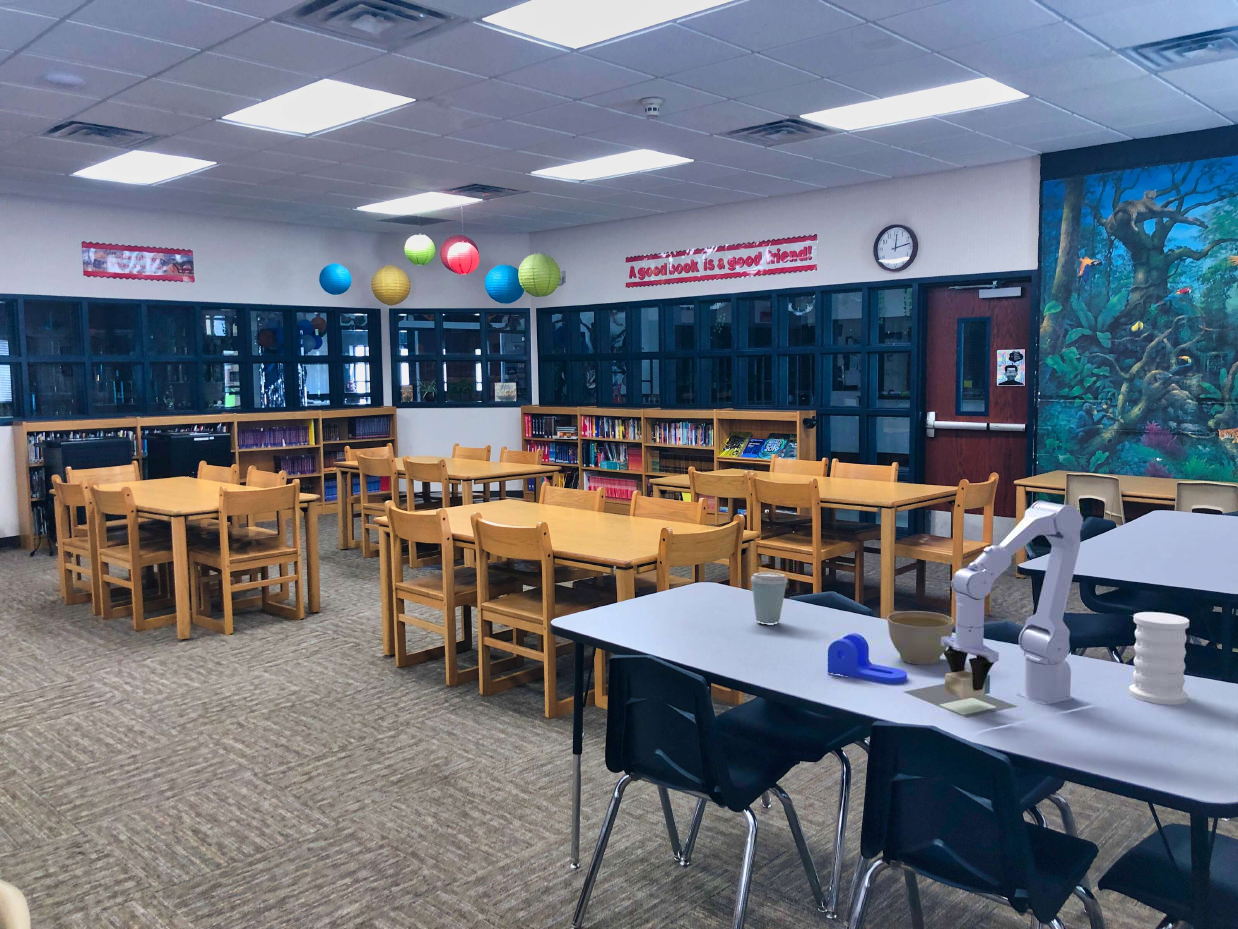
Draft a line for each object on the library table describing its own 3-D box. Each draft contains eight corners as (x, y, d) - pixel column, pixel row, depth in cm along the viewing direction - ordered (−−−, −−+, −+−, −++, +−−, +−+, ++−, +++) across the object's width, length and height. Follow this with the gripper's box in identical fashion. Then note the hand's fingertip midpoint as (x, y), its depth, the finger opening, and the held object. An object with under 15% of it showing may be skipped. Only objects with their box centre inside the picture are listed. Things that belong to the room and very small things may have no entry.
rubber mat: (951, 683, 227) (951, 681, 227) (1017, 708, 210) (1017, 705, 210) (903, 693, 220) (903, 691, 220) (966, 719, 203) (966, 717, 203)
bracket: (827, 674, 235) (827, 638, 234) (842, 666, 242) (842, 631, 241) (898, 688, 224) (899, 650, 223) (912, 679, 231) (912, 643, 230)
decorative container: (1184, 692, 219) (1187, 614, 218) (1191, 707, 209) (1194, 626, 207) (1127, 685, 224) (1129, 609, 223) (1130, 701, 214) (1133, 621, 212)
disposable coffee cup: (750, 618, 290) (750, 569, 289) (786, 619, 289) (787, 569, 287) (750, 627, 280) (750, 576, 278) (788, 628, 278) (788, 577, 277)
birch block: (944, 692, 210) (945, 673, 210) (971, 686, 214) (972, 668, 213) (962, 698, 205) (962, 680, 205) (989, 693, 209) (990, 675, 209)
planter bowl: (884, 650, 255) (885, 609, 254) (948, 653, 252) (949, 612, 251) (888, 667, 240) (889, 625, 239) (956, 671, 236) (957, 627, 235)
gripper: (931, 619, 213) (929, 679, 214) (982, 634, 200) (980, 698, 201) (954, 615, 216) (953, 675, 217) (1006, 630, 203) (1004, 693, 204)
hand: (968, 686), depth 209 cm, fingers closed on birch block, 5 cm apart
